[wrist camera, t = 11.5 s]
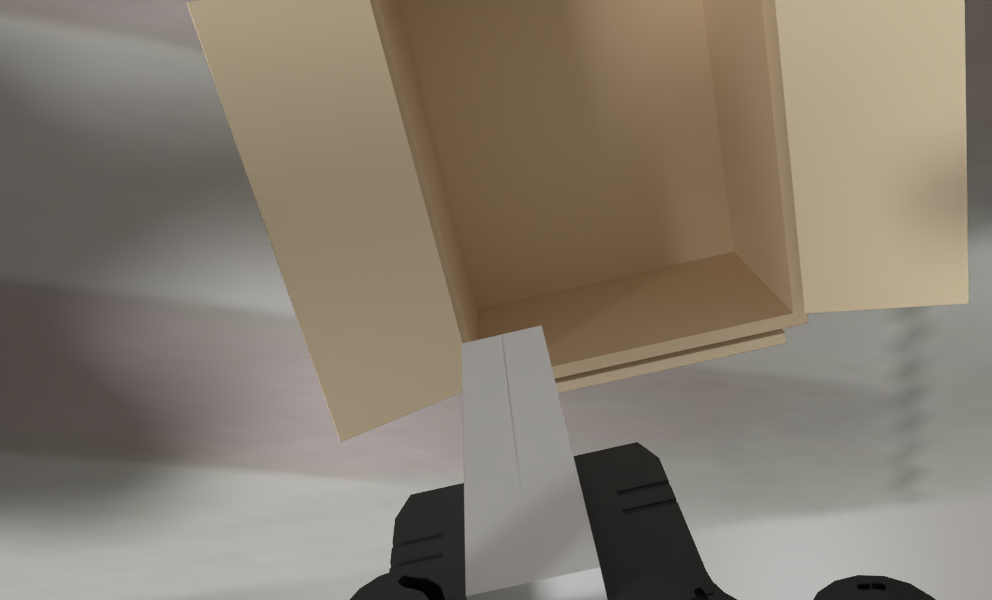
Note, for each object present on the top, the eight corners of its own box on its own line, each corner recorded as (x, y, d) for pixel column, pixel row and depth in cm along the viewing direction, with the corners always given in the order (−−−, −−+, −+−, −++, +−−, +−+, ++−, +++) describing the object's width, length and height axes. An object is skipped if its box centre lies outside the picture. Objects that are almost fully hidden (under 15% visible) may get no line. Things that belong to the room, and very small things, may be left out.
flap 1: (470, 382, 36) (338, 437, 34) (355, -37, 29) (186, 3, 27) (474, 386, 35) (341, 442, 33) (359, -38, 29) (187, 3, 27)
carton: (473, 330, 45) (474, 412, 37) (366, -73, 37) (337, -86, 29) (746, 269, 44) (812, 338, 36) (694, -156, 36) (762, -194, 28)
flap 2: (762, -138, 28) (959, -191, 26) (804, 308, 35) (966, 297, 32) (761, -139, 28) (961, -192, 26) (804, 313, 34) (968, 303, 32)
